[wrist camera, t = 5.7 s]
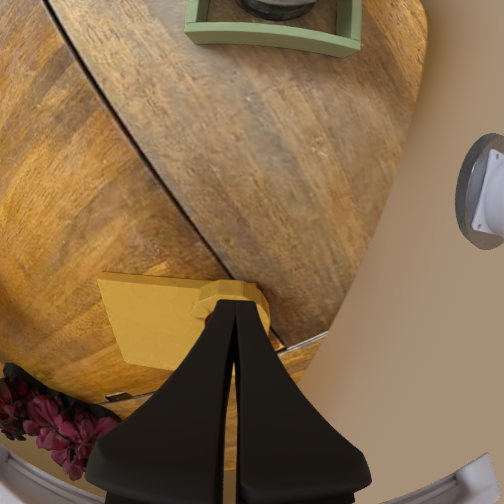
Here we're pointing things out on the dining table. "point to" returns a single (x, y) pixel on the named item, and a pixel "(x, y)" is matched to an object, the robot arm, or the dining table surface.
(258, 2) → the chess piece
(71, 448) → the flower arrangement
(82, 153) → the dining table surface
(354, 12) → the green square tray
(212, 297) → the control block
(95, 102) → the dining table surface
